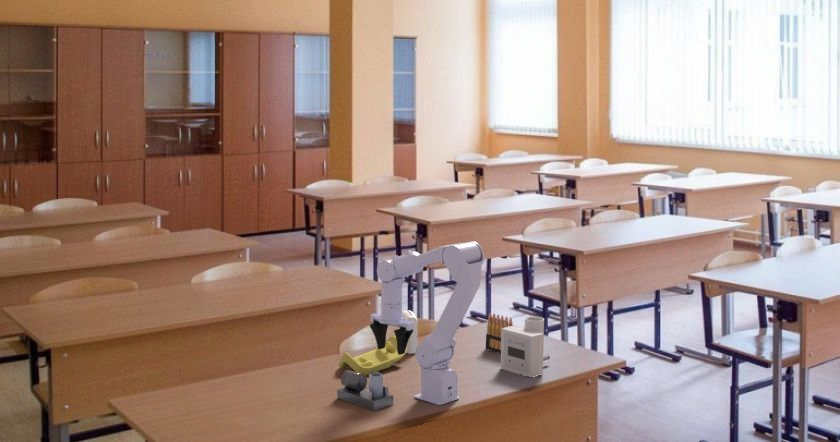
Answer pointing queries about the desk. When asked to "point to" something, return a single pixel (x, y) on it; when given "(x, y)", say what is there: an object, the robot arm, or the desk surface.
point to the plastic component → (373, 359)
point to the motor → (361, 392)
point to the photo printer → (413, 338)
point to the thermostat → (523, 347)
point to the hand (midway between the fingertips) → (391, 351)
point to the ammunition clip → (495, 331)
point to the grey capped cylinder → (376, 384)
